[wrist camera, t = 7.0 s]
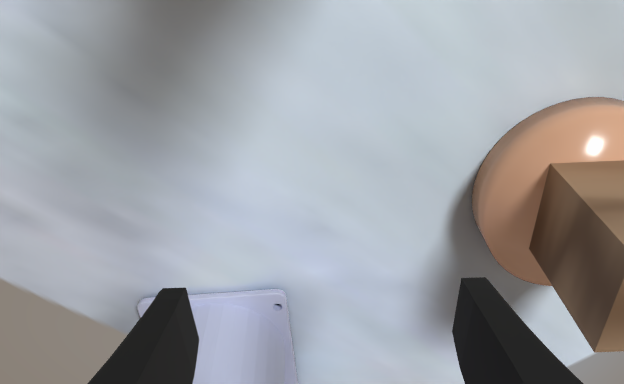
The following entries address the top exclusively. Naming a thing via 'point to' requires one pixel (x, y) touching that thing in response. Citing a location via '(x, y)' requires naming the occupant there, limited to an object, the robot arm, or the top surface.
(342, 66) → the top surface
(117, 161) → the top surface
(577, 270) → the walnut block
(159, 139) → the top surface
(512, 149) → the tan flattened disc
